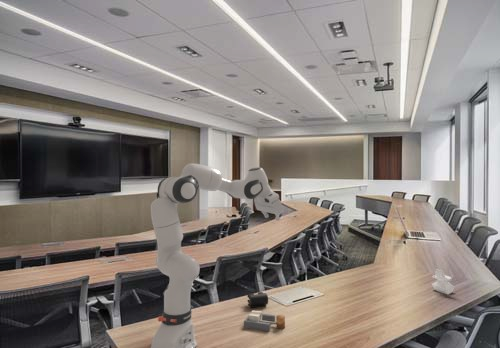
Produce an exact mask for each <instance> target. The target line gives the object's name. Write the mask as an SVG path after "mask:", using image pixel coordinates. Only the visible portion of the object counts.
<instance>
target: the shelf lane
mask: <svg viewBox="0 0 500 348" xmlns="http://www.w3.org/2000/svg"><path fill="white" fill-rule="evenodd" d="M262 320H264V321H271V322H276V314H271V313H270V314H269V313H263V312H262ZM243 327H244V328H245V329H246V328H247V329H253V330H260V331H266V332H271V324H270V323H265V322H257V321H250V320H249V314H248V315H247V317H246V318H245V319H244V321H243Z"/></svg>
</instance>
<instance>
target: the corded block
mask: <svg viewBox="0 0 500 348" xmlns="http://www.w3.org/2000/svg"><path fill="white" fill-rule="evenodd" d="M262 313H263V311H261V310H251V312H250V313H249V314H248V315H249V320H250V321H257V322H265V323H270V325H275V327H276V328H277V329H279V330H284V329H285V327H286V316H285V315H284V314H278V315H275V322H271V321H264V320H262Z"/></svg>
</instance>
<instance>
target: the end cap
mask: <svg viewBox="0 0 500 348" xmlns="http://www.w3.org/2000/svg"><path fill="white" fill-rule="evenodd" d="M246 297H247V298H248V299H247V303H248V304H247V306H248V307H249V308H250V309H251V308H252V309H253V308H259V307H265V306H267V305H268V304H269V297H268V294H267V293H266V292H262V291H260V292H257V293H256V294H254V293H253V292H252V293H248V294H247V296H246Z"/></svg>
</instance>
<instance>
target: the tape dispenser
mask: <svg viewBox="0 0 500 348" xmlns="http://www.w3.org/2000/svg"><path fill="white" fill-rule="evenodd" d="M434 274H435V275H432V276H431V277H432V278H433V279H436V281H434V282H432V283H431V285H432V287H433V290H434V291H437V292H439V293H442V294H444V295H450V294H452V293H453V291H454V290H455V288H456V287H455V286H454V285H453V284H452V283H450V282H451V281H453V280H452V277H451V276H449V275H446V274H445V272H444V270H443V269H439V268H436V269H435V272H434Z"/></svg>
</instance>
